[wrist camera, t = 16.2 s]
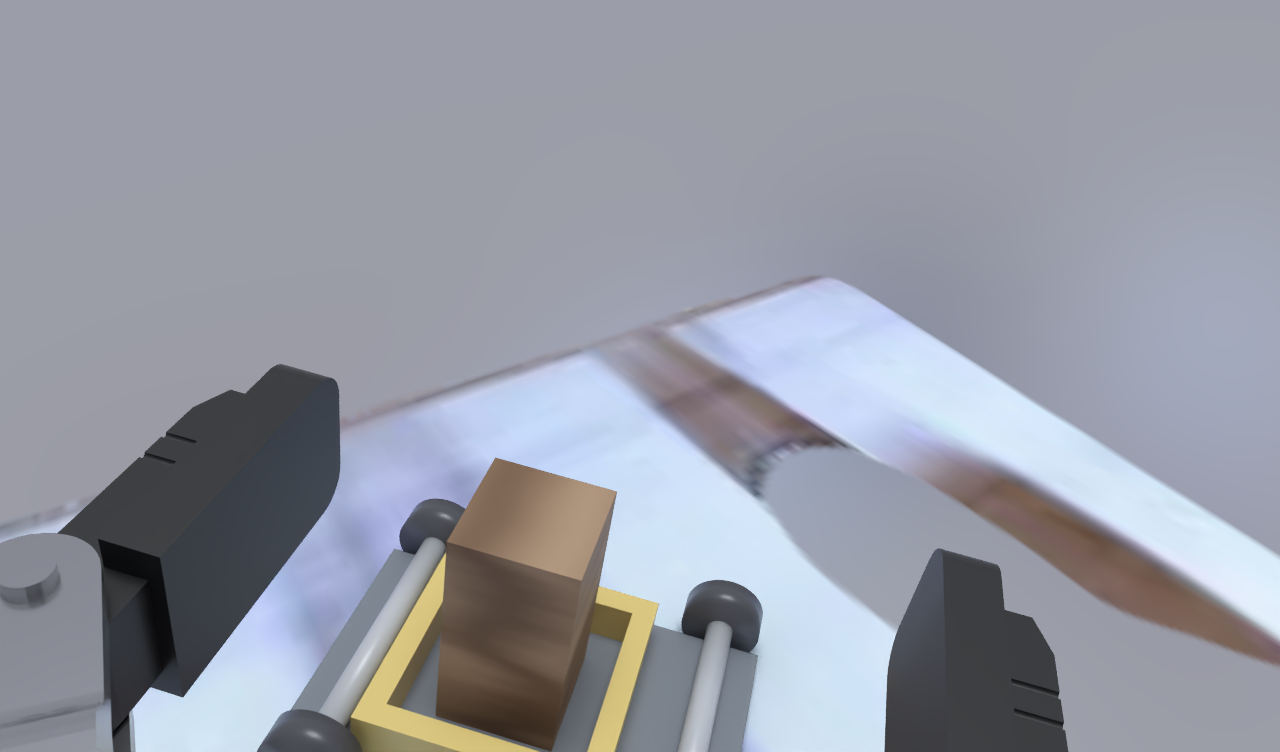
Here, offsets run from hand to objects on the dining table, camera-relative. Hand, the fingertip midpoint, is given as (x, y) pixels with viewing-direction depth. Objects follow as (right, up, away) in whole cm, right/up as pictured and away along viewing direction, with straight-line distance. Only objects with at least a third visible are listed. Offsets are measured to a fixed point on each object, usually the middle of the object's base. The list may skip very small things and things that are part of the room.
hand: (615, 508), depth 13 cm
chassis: (-4, -13, +30) cm, 33 cm away
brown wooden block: (-5, -12, +30) cm, 32 cm away
